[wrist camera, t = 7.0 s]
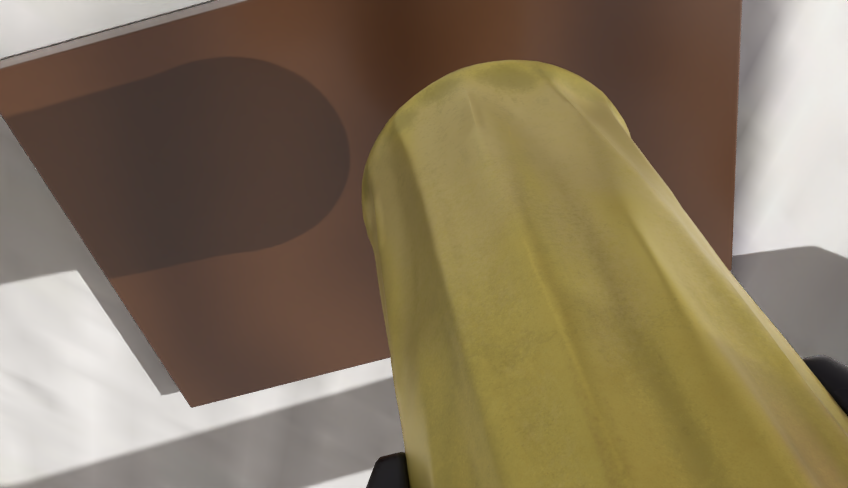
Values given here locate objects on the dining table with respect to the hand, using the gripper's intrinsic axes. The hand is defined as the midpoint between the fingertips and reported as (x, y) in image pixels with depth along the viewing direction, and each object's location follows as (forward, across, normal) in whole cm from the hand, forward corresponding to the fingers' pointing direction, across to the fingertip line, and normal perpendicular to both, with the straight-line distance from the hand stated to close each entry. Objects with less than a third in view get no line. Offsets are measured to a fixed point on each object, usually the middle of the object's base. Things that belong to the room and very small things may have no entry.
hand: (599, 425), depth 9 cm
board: (+13, +2, +2) cm, 13 cm away
